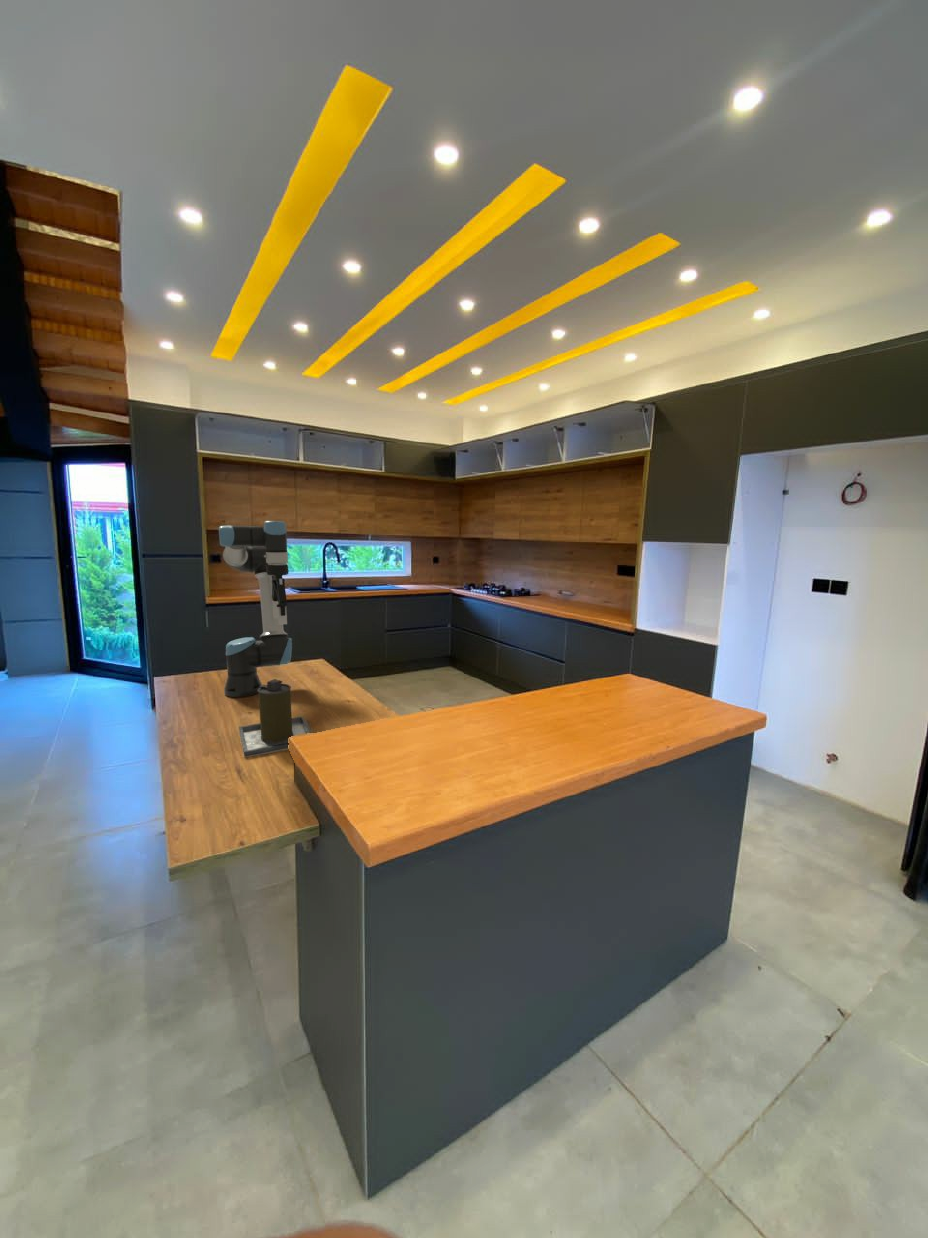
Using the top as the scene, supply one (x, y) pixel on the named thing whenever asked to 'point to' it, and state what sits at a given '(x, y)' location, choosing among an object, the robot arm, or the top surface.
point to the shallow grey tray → (257, 747)
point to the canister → (275, 711)
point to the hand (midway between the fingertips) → (280, 621)
